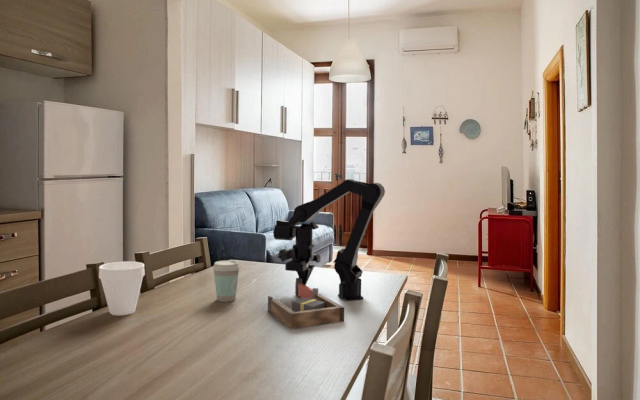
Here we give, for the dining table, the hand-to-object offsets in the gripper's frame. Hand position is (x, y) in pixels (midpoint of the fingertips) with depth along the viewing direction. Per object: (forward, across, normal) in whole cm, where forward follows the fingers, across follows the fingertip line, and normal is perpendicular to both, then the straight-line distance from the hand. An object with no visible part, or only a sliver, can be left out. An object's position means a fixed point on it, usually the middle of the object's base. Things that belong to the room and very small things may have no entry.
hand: (303, 286), depth 164 cm
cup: (+2, +40, -41) cm, 57 cm away
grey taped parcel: (+2, +21, +10) cm, 23 cm away
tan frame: (+2, +24, +9) cm, 25 cm away
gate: (+2, +8, +4) cm, 10 cm away
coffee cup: (+2, +17, -20) cm, 26 cm away
